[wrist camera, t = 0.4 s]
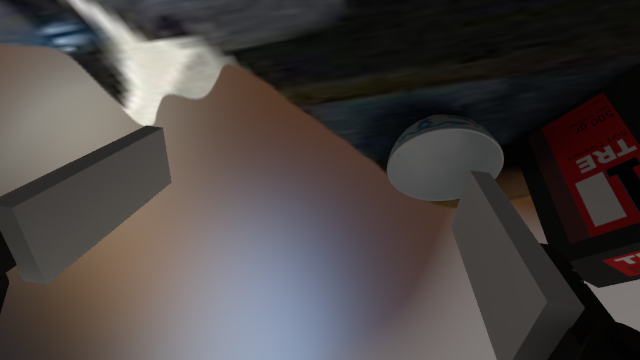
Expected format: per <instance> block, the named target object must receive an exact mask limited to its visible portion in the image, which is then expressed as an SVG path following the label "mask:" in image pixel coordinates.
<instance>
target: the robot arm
mask: <svg viewBox="0 0 640 360" xmlns="http://www.w3.org/2000/svg"><path fill="white" fill-rule="evenodd" d="M170 183H171V176H170V171H169V164H168V159H167V152H166V145H165V139H164V132H163V128H160V127H154V126H145V127H143V128H140V129H138V130H136V131H134V132H132V133H130V134H128V135H126V136H124V137H122V138H120V139H118V140H116V141H114V142H112V143H110V144H108V145H106V146H104V147H101V148H99V149H97V150H96V151H93V152H91V153H89V154H87V155H85V156H83V157H81V158H79V159H77V160H75V161H73V162H71V163H69V164H66V165H64V166H62V167H60V168H58V169H56V170H54V171H52V172H50V173H48V174H46V175H44V176H42V177H40V178H38V179H36V180H34V181H32V182H29V183H27V184H25V185H23V186H21V187H19V188H17V189H15V190H13V191H11V192H9V193H7V194H5V195H3V196H1V197H0V313H1V309H2V306H3V302H4V299H5V296H6V292H7V288H8V285H9V280H8V277H7V275H6V272H7V271H9V270H10V269H12V268H13V267H15V266H17V268H18V270H19V272H20V274H21V276H22V278H23V280H24V281H29V282H33V283H39V284H44V285H47V284H48V283H49V282H51V281H52V280H53V279H54V278H56V277H57V276H58V275H59V274H60V273H62V272H63V271H64V270H65V269H67V268H68V267H69V266H70V265H71V264H72V263H74V262H75V261H76V260H77V259H78V258H80V257H81V256H82V255H83V254H85V253H86V252H87V251H88V250H90V249H91V248H92V247H93V246H94V245H96V244H97V243H98V242H99V241H101V240H102V239H103V238H104V237H105V236H107V235H108V234H109V233H110V232H112V231H113V230H114V229H115V228H116V227H118V226H119V225H120V224H121V223H123V222H124V221H125V220H126V219H127V218H129V217H130V216H131V215H132V214H134V213H135V212H136V211H137V210H138V209H140V208H141V207H142V206H143V205H145V204H146V203H147V202H148V201H149V200H150V199H152V198H153V197H154V196H155V195H156V194H158V193H159V192H160V191H162V190H163V189H164V188H165V187H166V186H168V185H169V184H170ZM451 228H452V231H453V234H454V236H455V239H456V242H457V245H458V248H459V251H460V254H461V257H462V259H463V262H464V265H465V268H466V271H467V274H468V277H469V280H470V283H471V286H472V288H473V292H474V294H475V297H476V300H477V303H478V306H479V309H480V312H481V315H482V317H483V320H484V323H485V326H486V329H487V332H488V335H489V338H490V341H491V344H492V346H493V349H494V352H495V355H496V358H497V360H640V332H639V331H637V330H635V329H633V328H631V327H629V326H627V325H625V324H622V323H618V322H615V320H614V319H613V318H612V316H611V315H610V314H609V313H608V311H607V310H606V309H605V307H604V306H603V305H602V303H601V302H600V301H599V300H598V298H597V297H596V296H595V294H594V293H593V292H592V291H591V289H590V288H589V287H588V285H587V284H585V283H584V280H583V279H582V278H581V276H580V275H579V274H578V273H577V272H575V268H574V267H573V266H572V265H571V263H570V262H569V261H568V259H567V258H566V257H565V256H564V255H562V254H561V253H560V252H559V251H557V250H556V249H555V248H554V247H552V246H551V245H548V244H542V243H539V242H538V241H537V239H536V238H535V237H534V235H533V234H532V232H531V231H530V229H529V228H528V227H527V225H526V224H525V222H524V221H523V219H522V218H521V217H520V215H519V214H518V212H517V211H516V210H515V208H514V207H513V205H512V204H511V202H510V201H509V199H508V198H507V197H506V195H505V194H504V192H503V191H502V190H501V188H500V187H499V185H498V184H497V182H496V181H495V180H494V178H493V177H492V175H491V174H490V173H487V172H480V171H472V170H470V171H469V174H468V177H467V180H466V183H465V186H464V189H463V192H462V195H461V198H460V201H459V204H458V207H457V210H456V213H455V215H454V218H453V222H452V224H451Z"/></svg>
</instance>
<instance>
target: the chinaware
mask: <svg viewBox="0 0 640 360" xmlns="http://www.w3.org/2000/svg"><path fill="white" fill-rule="evenodd" d="M503 162H504V156H503V152H502V149H501V147H500V145H499V144H498V142H497V141H496V140H495V138H494V137H493V136H492V135H491V134H490V133H489V132H488V131H487V130H486V129H485V128H484V127H483V126H481V125H480V124H478V123H477V122H475V121H473V120H471V119H468V118H465V117H462V116H457V115H433V116H430V117H427V118H425V119H422V120H420V121H418V122H416V123H415V124H413V125H412V126H410V127H409V128H408V129H407V130H405V131H404V132H403V133H402V135H401V136H400V137H399V138H398V140H397V141H396V143H395V144H394V146H393V148H392V151H391V153H390V156H389V160H388V164H387V175H388V178H389V180H390V182H391V183H392V185H393V186H394V187H395V188H396V189H397V190H399V191H400V192H402V193H404V194H406V195H408V196H411V197H413V198H417V199H422V200H429V201H444V200H452V199H457V198H461V195H462V192H463V189H464V186H465V183H466V180H467V177H468V174H469V171H470V170H472V171H480V172H487V173H490V174H491V175H492V177H493V178H494V179H495V178H496V177H497V176H498V175H499V173H500V171H501V169H502V167H503Z"/></svg>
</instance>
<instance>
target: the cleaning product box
mask: <svg viewBox="0 0 640 360" xmlns="http://www.w3.org/2000/svg"><path fill="white" fill-rule="evenodd" d="M512 144H513V147H514V150H515V152H516V155H517V158H518V161H519V164H520V167H521V169H522V172H523V175H524V178H525V181H526V183H527V186H528V189H529V192H530V195H531V198H532V200H533V203H534V206H535V209H536V212H537V214H538V217H539V220H540V223H541V226H542V229H543V231H544V234H545V237H546V240H547V242H548V245H551V246H552V247H554V248H555V249H556V250H557V251H559V252H560V253H561V254H562V255H564V256H565V257H566V258H567V259H568V261H569V262H570V263H571V265H572V266H573V267H574V268H575V272H577V273H578V274H579V275H580V276H581V278H582V279H583V280H584V281H586V282H588V283H590V284H592V285H594V286H596V287H598V288H600V287H605V286H610V285H615V284H619V283H624V282H629V281H633V280H638V279H640V65H638V66H637V67H635V68H633V69H632V70H630V71H628V72H627V73H625V74H623V75H622V76H620V77H618V78H617V79H615V80H613V81H612V82H610V83H608V84H607V85H605V86H603V87H602V88H600V89H598V90H597V91H595V92H593V93H592V94H590V95H588V96H587V97H585V98H583V99H582V100H580V101H578V102H577V103H575V104H573V105H572V106H570V107H568V108H567V109H565V110H563V111H562V112H560V113H558V114H557V115H555V116H553V117H552V118H550V119H548V120H547V121H545V122H544V123H542V124H540V125H539V126H537V127H535V128H534V129H532V130H530V131H529V132H527V133H525V134H524V135H522V136H520V137H519V138H517V139H515V140H514V141H512Z"/></svg>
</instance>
